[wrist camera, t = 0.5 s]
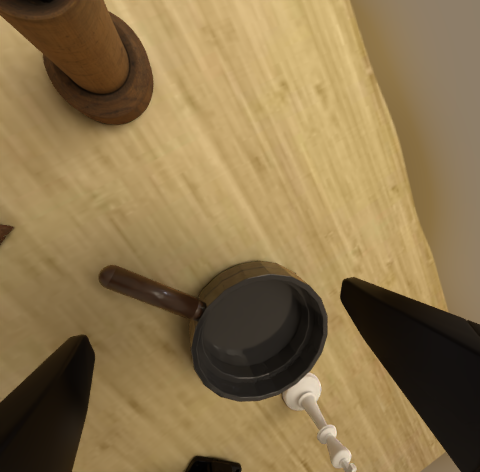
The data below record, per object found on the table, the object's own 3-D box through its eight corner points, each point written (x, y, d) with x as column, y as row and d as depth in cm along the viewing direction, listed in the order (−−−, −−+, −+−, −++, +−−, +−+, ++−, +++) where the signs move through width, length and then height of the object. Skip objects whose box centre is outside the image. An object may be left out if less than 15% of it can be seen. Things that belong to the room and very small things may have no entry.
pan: (269, 383, 29) (283, 414, 25) (166, 350, 25) (164, 381, 21) (327, 289, 28) (351, 306, 24) (229, 237, 24) (239, 249, 20)
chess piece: (277, 406, 30) (323, 511, 21) (288, 371, 29) (341, 464, 20) (312, 405, 32) (370, 503, 22) (323, 372, 31) (389, 459, 21)
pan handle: (208, 299, 22) (211, 309, 21) (199, 316, 23) (201, 327, 21) (108, 258, 20) (102, 266, 18) (98, 277, 20) (90, 287, 18)
